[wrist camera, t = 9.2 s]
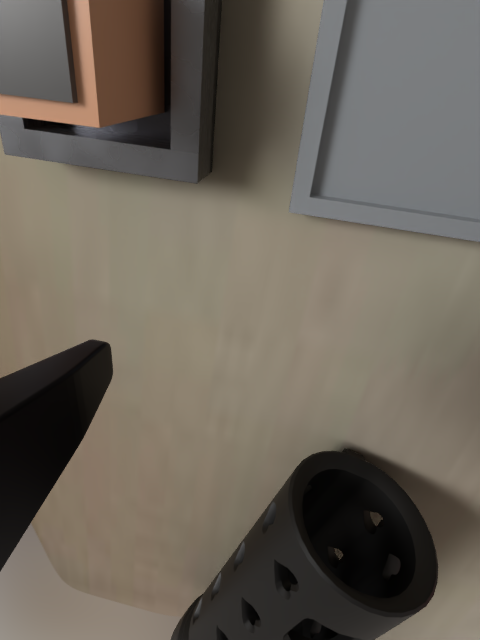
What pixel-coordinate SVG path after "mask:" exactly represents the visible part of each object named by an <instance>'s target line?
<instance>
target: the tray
mask: <svg viewBox="0 0 480 640" xmlns="http://www.w3.org/2000/svg"><path fill="white" fill-rule="evenodd" d="M289 212H291V213H297V214H304V215H310V216H317V217H323V218H330V219H336V220H342V221H349V222H355V223H362V224H368V225H375V226H381V227H387V228H394V229H400V230H407V231H413V232H419V233H426V234H432V235H439V236H445V237H452V238H458V239H464V240H471V241H477V242H480V0H324V3H323V9H322V15H321V21H320V27H319V33H318V39H317V45H316V51H315V57H314V63H313V69H312V75H311V81H310V87H309V93H308V99H307V105H306V111H305V117H304V123H303V129H302V135H301V141H300V147H299V153H298V160H297V166H296V172H295V178H294V184H293V190H292V196H291V202H290V208H289Z"/></svg>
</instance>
